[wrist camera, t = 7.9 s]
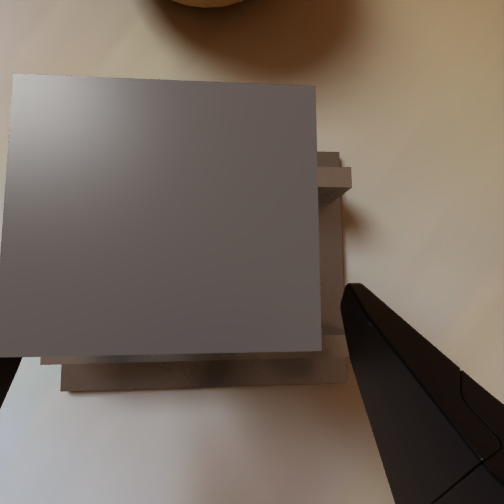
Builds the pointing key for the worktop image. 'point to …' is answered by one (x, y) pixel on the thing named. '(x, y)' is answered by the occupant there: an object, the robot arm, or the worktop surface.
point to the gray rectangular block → (159, 218)
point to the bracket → (243, 364)
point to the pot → (208, 3)
